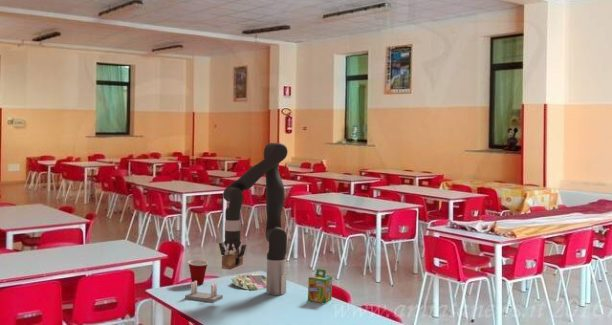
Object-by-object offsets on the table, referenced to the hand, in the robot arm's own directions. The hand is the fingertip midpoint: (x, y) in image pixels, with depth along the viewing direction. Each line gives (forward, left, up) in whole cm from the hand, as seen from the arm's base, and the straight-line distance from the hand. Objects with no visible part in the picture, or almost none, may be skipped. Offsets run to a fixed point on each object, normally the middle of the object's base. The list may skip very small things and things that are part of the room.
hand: (232, 264), depth 287 cm
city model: (+4, -30, -18) cm, 35 cm away
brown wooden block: (0, 0, -1) cm, 1 cm away
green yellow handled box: (-38, -18, -17) cm, 46 cm away
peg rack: (+14, +3, -17) cm, 22 cm away
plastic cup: (+31, -19, -17) cm, 40 cm away
